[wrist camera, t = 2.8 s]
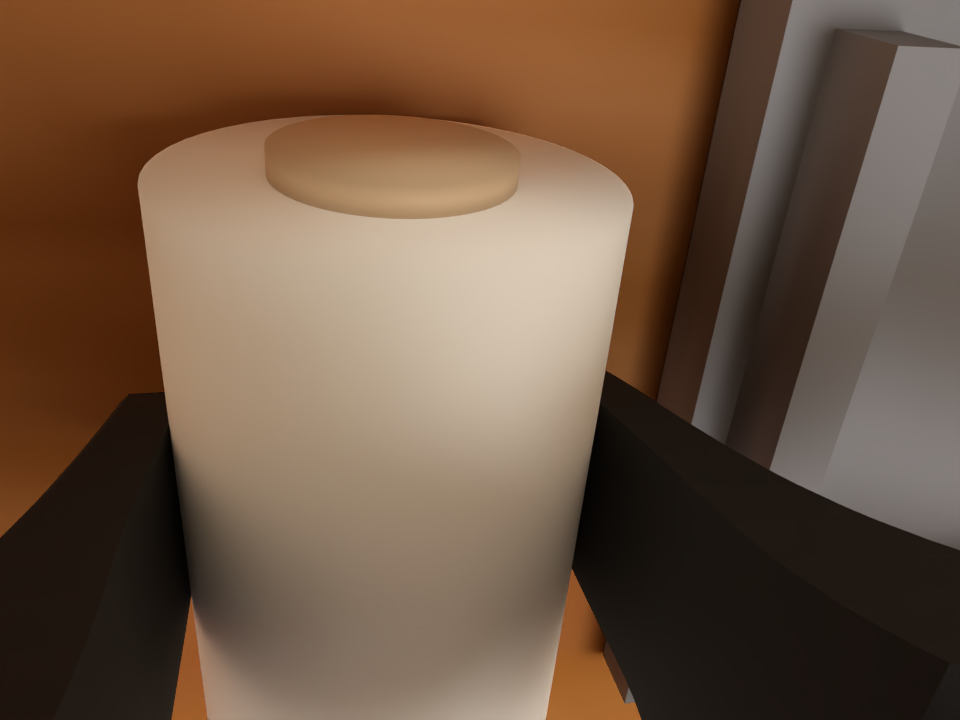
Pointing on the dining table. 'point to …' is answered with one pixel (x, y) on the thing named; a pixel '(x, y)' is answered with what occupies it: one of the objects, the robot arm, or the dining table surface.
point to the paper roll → (380, 406)
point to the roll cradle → (832, 260)
